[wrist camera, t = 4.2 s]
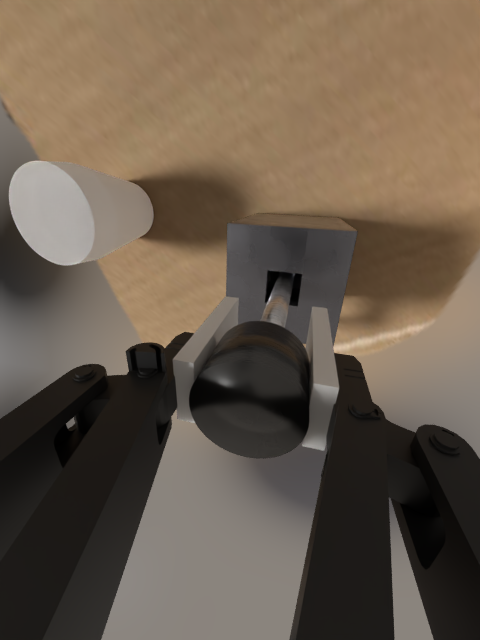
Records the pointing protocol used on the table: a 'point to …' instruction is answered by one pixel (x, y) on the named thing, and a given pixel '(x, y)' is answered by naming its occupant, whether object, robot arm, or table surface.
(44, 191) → the cup
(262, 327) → the plunger
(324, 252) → the grey box with handle
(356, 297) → the table surface
